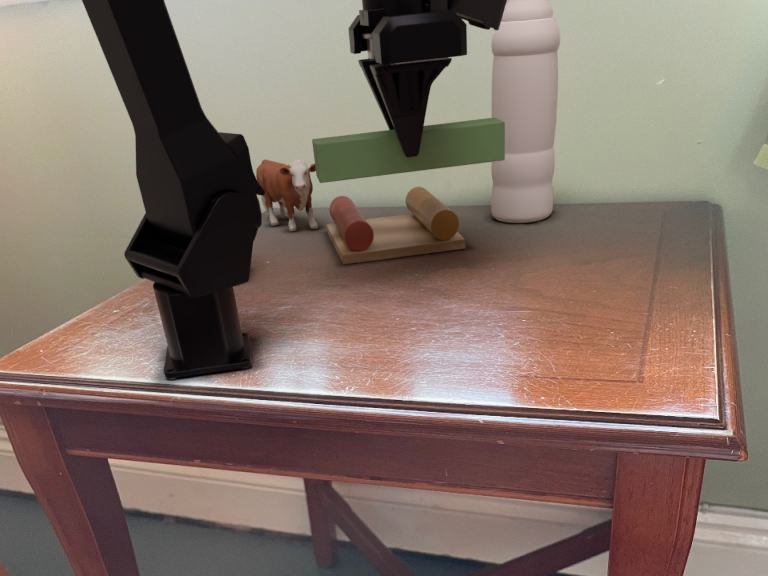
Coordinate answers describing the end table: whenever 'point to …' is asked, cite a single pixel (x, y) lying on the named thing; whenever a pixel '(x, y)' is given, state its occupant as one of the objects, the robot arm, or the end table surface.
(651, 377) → the end table surface
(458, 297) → the end table surface
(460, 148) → the green bar
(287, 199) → the bull figurine
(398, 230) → the rod stand
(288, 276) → the end table surface
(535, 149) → the water bottle
